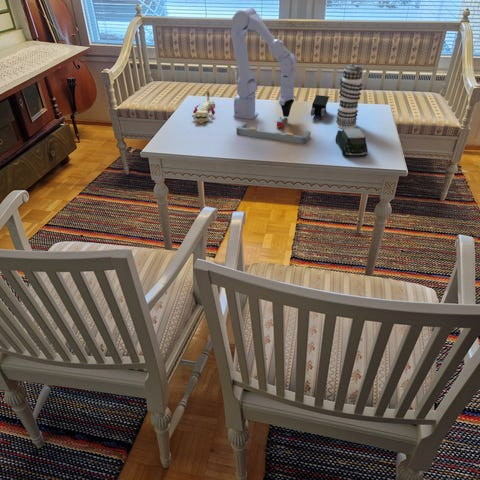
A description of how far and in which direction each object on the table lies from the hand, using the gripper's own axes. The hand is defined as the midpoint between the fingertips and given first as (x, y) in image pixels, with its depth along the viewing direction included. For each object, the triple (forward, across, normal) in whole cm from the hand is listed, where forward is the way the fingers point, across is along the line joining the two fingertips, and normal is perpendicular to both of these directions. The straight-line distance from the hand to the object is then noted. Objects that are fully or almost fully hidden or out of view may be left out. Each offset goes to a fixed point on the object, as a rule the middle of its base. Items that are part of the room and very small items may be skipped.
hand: (286, 116), depth 188 cm
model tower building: (+3, +5, -26) cm, 27 cm away
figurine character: (+3, +13, -12) cm, 18 cm away
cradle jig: (+2, -17, 0) cm, 17 cm away
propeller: (+2, -8, 0) cm, 8 cm away
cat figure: (+3, -5, +38) cm, 39 cm away
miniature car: (+3, -18, -33) cm, 38 cm away
